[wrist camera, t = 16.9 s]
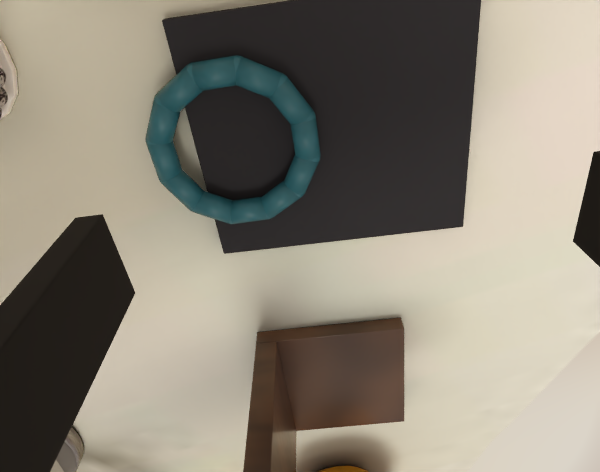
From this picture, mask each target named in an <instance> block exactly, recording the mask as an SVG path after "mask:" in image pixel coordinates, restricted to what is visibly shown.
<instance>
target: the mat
mask: <svg viewBox="0 0 600 472" xmlns="http://www.w3.org/2000/svg"><path fill="white" fill-rule="evenodd" d="M480 7H481V0H290V1H283V2H276V3H269V4H262V5H256V6H249V7H242V8H235V9H228V10H221V11H214V12H208V13H201V14H194V15H187V16H180V17H173V18H167V19H164V20H162V22H163V26H164V29H165V33H166V37H167V41H168V45H169V48H170V52H171V56H172V60H173V63H174V67H175V71H176V75H177V74H178V73H179V72H180V71H181V70H182V69H183V68H184V67H185V66H186V65H188V64H189V63H192V62H198V61H204V60H210V59H216V58H222V57H229V56H235V55H238V56H242V57H244V58H247V59H249V60H252V61H254V62H257V63H259V64H262V65H264V66H267V67H269V68H271V69H274V70H276V71H279V72H281V73H283V74H285V75H286V76H287V77H288V78H289V80H290V81H291V82H292V83H293V85H294V86H295V87H296V89H297V90H298V91H299V92H300V94H301V95H302V96H303V98H304V99H305V100H306V101H307V103H308V104H309V105H310V107H311V108H312V109H313V111H314V113H315V116H316V123H317V131H318V138H319V146H320V154H321V156H320V161H319V163H318V165H317V167H316V170H315V172H314V174H313V176H312V179H311V181H310V183H309V185H308V188H307V190H306V192H305V194H304V195H303V196H302V197H301V198H300V199H298V200H297V201H296V202H294V203H293V204H291V205H290V206H289V207H287V208H286V209H284V210H283V211H282V212H280V213H279V214H277V215H276V216H275V217H273V218H271V219H267V220H259V221H252V222H245V223H237V224H228V223H225V222H222V221H219V220H216V219H215V222H216V225H217V229H218V233H219V237H220V240H221V244H222V248H223V252H224V254H226V253H234V252H243V251H252V250H261V249H270V248H279V247H287V246H296V245H305V244H314V243H323V242H332V241H340V240H349V239H358V238H367V237H376V236H385V235H393V234H402V233H411V232H420V231H429V230H438V229H446V228H455V227H463V219H464V207H465V194H466V182H467V169H468V157H469V144H470V132H471V119H472V107H473V94H474V82H475V69H476V57H477V44H478V32H479V19H480ZM185 109H186V112H187V116H188V120H189V124H190V127H191V131H192V135H193V139H194V142H195V146H196V150H197V154H198V158H199V161H200V165H201V169H202V173H203V176H204V180H205V184H206V188H207V191H208V192H209V193H212V194H215V195H218V196H221V197H224V198H227V199H230V200H233V201H234V200H241V199H248V198H255V197H262V196H264V195H265V194H266V193H268V192H269V191H270V190H272V189H273V188H274V187H276V186H277V185H278V184H280V183H281V182H282V181H284V180H285V178H286V175H287V173H288V170H289V168H290V165H291V163H292V160H293V158H294V156H295V150H294V143H293V137H292V131H291V125H290V123H289V122H288V121H287V119H286V118H285V117H284V116H283V115H282V113H281V112H280V111H279V110H278V108H277V107H276V106H275V105H274V104H273V102H272V101H271V100H270V99H269V98H267V97H265V96H262V95H260V94H257V93H254V92H252V91H249V90H247V89H244V88H242V87H239V86H237V85H236V86H230V87H223V88H217V89H211V90H204V91H202V92H201V93H200V94H199V95H198V96H197V97H196V98H195V99H193V100H192V101H191V102H190V103H189V104H188V105H187V106H186V107H185Z"/></svg>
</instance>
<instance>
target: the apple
mask: <svg viewBox="0 0 600 472" xmlns="http://www.w3.org/2000/svg"><path fill="white" fill-rule="evenodd" d="M318 472H368V471H367V470H364V469H361V468H359V467H354V466H335V467H331V468H327V469H323V470H321V471H318Z"/></svg>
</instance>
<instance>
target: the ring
mask: <svg viewBox="0 0 600 472" xmlns="http://www.w3.org/2000/svg"><path fill="white" fill-rule="evenodd" d="M236 85H237V86H239V87H242V88H244V89H247V90H249V91H252V92H254V93H257V94H260V95H262V96H265V97H267V98H269V99H270V100H271V101H272V102H273V104H274V105H275V106H276V107H277V108H278V110H279V111H280V112H281V113H282V115H283V116H284V117H285V118H286V119H287V121H288V122H289V123H290V125H291V131H292V137H293V143H294V150H295V156H294V158H293V160H292V163H291V165H290V168H289V170H288V173H287V175H286V178H285V180H284V181H282V182H281V183H280V184H278V185H277V186H276V187H274V188H273V189H272V190H270V191H269V192H268V193H266V194H265V195H264V196H262V197H255V198H248V199H241V200H234V201H233V200H230V199H227V198H224V197H221V196H218V195H215V194H212V193H209V192H206V191H204V190H203V189H202V188H201V187H200V186H199V185H198V184H197V183H196V182H195V181H194V180H193V179H192V178H191V177H190V176H189V175H188V174H187V173H186V172H184V171H183V170H182V167H181V164H180V161H179V158H178V155H177V151H176V148H175V145H174V142H173V138H174V134H175V130H176V126H177V122H178V118H179V114H180V111H181V110H182V109H183V108H185V107H186V106H187V105H188V104H189V103H190V102H191V101H192V100H193V99H195V98H196V97H197V96H198V95H199V94H200V93H201V92H202V91H204V90H211V89H217V88H223V87H230V86H236ZM146 144H147V146H148V149H149V152H150V155H151V158H152V161H153V164H154V167H155V169H156V172H157V175H158V178H159V180H160V182H161V183H162V184H163V185H164V186H165V187H166V188H167V189H168V190H169V191H170V192H171V193H172V194H173V195H174V196H175V197H176V198H178V199H179V200H180V201H181V202H182V203H183V204H184V205H185V206H186V207H187V208H188V209H189V210H190V211H192V212H195V213H198V214H201V215H204V216H207V217H210V218H213V219H216V220H219V221H222V222H225V223H228V224H237V223H245V222H252V221H259V220H267V219H271V218H273V217H275V216H276V215H277V214H279V213H280V212H282V211H283V210H284V209H286V208H287V207H289V206H290V205H291V204H293V203H294V202H296V201H297V200H298V199H300V198H301V197H302V196H303V195H304V194H305V192H306V190H307V188H308V185H309V183H310V181H311V179H312V176H313V174H314V172H315V170H316V167H317V165H318V163H319V161H320V156H321V154H320V146H319V138H318V131H317V123H316V116H315V113H314V111H313V109H312V108H311V107H310V105H309V104H308V103H307V101H306V100H305V99H304V98H303V96H302V95H301V94H300V92H299V91H298V90H297V89H296V87H295V86H294V85H293V83H292V82H291V81H290V80H289V78H288V77H287V76H286V75H285V74H283V73H281V72H279V71H276V70H274V69H271V68H269V67H267V66H264V65H262V64H259V63H257V62H254V61H252V60H249V59H247V58H244V57H242V56H238V55H235V56H229V57H222V58H216V59H210V60H204V61H198V62H192V63H189V64H188V65H186V66H185V67H184V68H183V69H182V70H181V71H180V72H179V73H178V74H177V75H176V76H175V77H174V78H173V79H172V80H170V81H169V82H168V83H167V84H166V85H165V86H164V87H163V88H162V89H161V90H160V91H159V92H158V93H157V94H156V95H155V97H154V101H153V106H152V111H151V115H150V120H149V124H148V129H147V134H146Z"/></svg>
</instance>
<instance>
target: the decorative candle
mask: <svg viewBox="0 0 600 472" xmlns="http://www.w3.org/2000/svg"><path fill="white" fill-rule="evenodd" d="M17 96H18V83H17V70H16V68H15V65H14V63H13V61H12V59H11V57H10V54H9V52H8V50H7V48H6V45H5V44H4V43H3V41H2V40H1V39H0V120H1V119H2V118H3V117H5V116H6V115H8V114H9V113H10V112H11V110H12V107H13V105H14V103H15V100H16V98H17Z"/></svg>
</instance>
